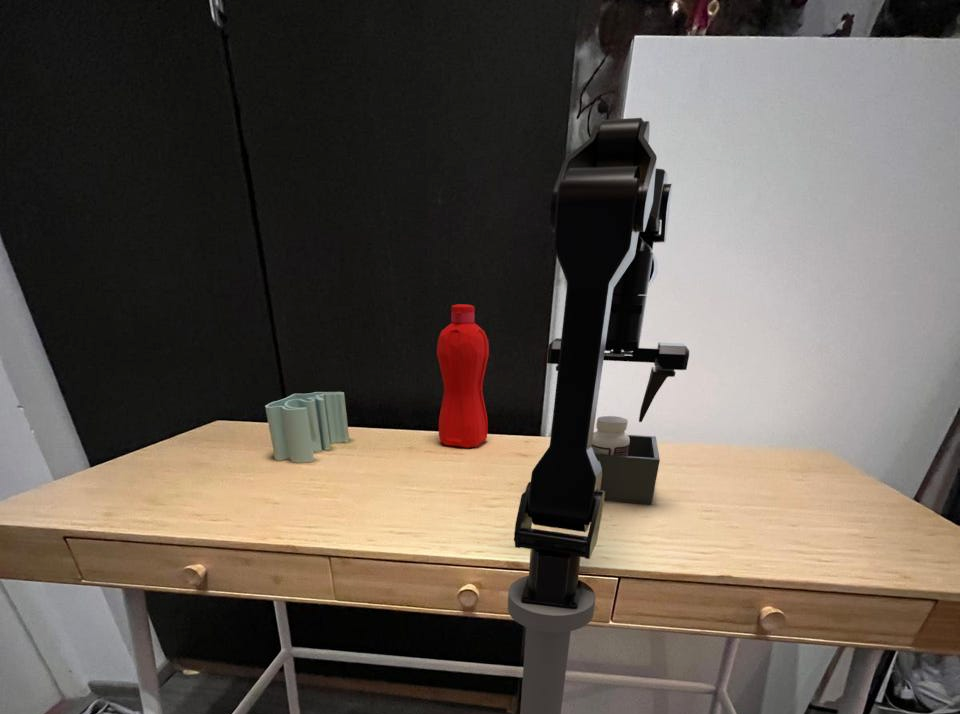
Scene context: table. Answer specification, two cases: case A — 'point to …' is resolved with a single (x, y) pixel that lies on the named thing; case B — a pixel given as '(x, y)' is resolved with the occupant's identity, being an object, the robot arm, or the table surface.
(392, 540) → the table surface
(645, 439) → the waste bin
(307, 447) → the squiggly pen holder
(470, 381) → the water bottle
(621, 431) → the pill bottle
